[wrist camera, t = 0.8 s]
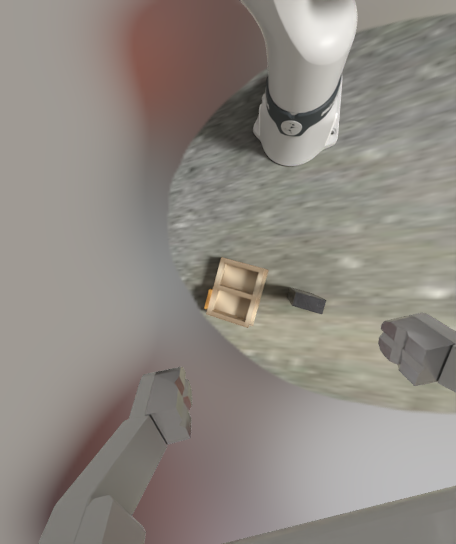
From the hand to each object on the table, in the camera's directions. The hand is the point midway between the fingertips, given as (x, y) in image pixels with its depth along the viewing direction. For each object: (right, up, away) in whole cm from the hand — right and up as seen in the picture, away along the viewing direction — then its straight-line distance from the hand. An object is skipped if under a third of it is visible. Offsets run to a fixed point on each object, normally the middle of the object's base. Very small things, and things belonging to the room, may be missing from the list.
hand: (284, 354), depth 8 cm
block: (+14, -2, +39) cm, 42 cm away
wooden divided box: (0, -1, +42) cm, 42 cm away
